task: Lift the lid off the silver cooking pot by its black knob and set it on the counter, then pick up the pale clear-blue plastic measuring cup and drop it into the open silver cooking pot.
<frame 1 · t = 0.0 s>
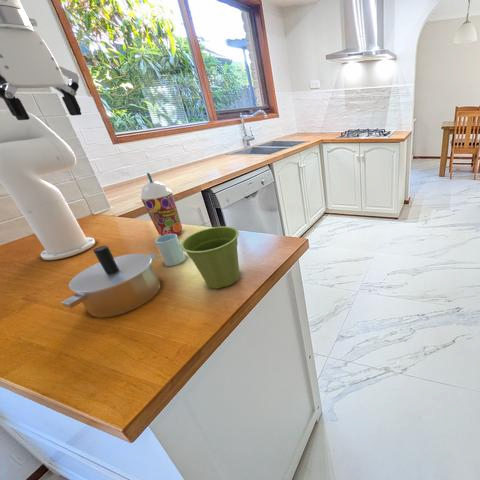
hand: (51, 117, 64), 37 cm above the table, tool pointing down, fingers open, 9 cm apart
smoothie: (172, 234, 94), on the table
measuring cup: (175, 261, 78), on the table
silver cooking pot: (126, 296, 65), on the table
tin lid: (113, 272, 62), point 6 cm above the table, touching silver cooking pot
plant pot: (224, 280, 68), on the table
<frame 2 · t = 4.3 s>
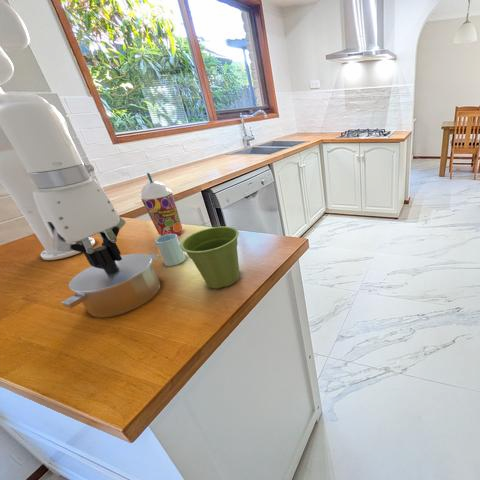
hand: (108, 262, 61), 9 cm above the table, tool pointing down, fingers closed on tin lid, 2 cm apart
tin lid: (113, 272, 62), point 7 cm above the table, touching gripper, silver cooking pot
everything else where it was.
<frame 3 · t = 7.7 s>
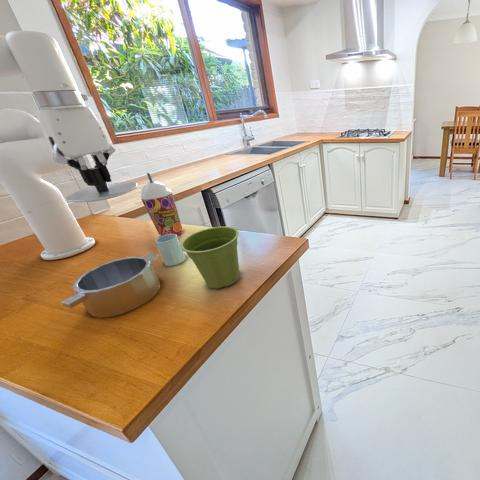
hand: (99, 182, 71), 21 cm above the table, tool pointing down, fingers closed on tin lid, 2 cm apart
tin lid: (104, 192, 73), point 19 cm above the table, touching gripper
everything else where it was.
when the fingers open (3 cm above the table, at t = 11.3 s): tin lid stays where it is, point 1 cm above the table.
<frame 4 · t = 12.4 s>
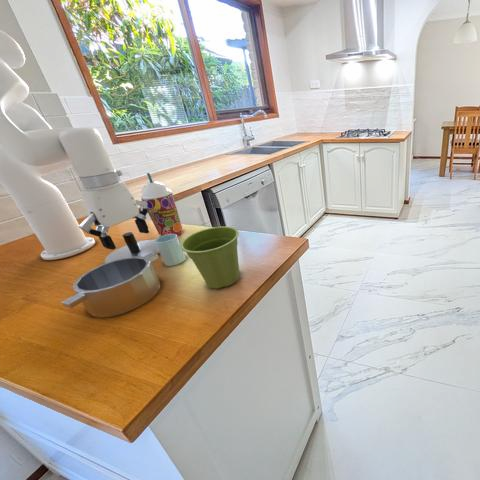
hand: (128, 240, 81), 5 cm above the table, tool pointing down, fingers open, 9 cm apart
tin lid: (136, 252, 82), point 1 cm above the table
everything else where it was.
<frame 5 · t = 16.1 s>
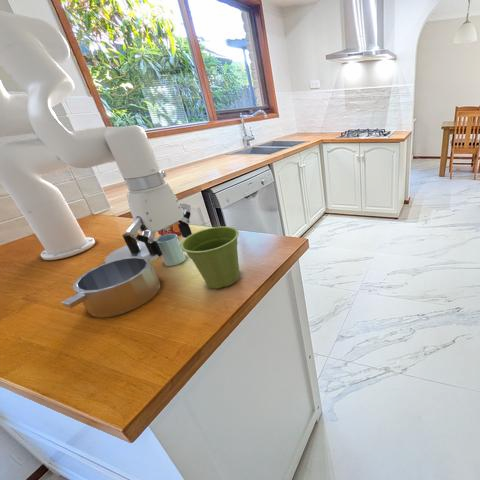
hand: (173, 245, 76), 5 cm above the table, tool pointing down, fingers open, 9 cm apart
nothing on the table moved.
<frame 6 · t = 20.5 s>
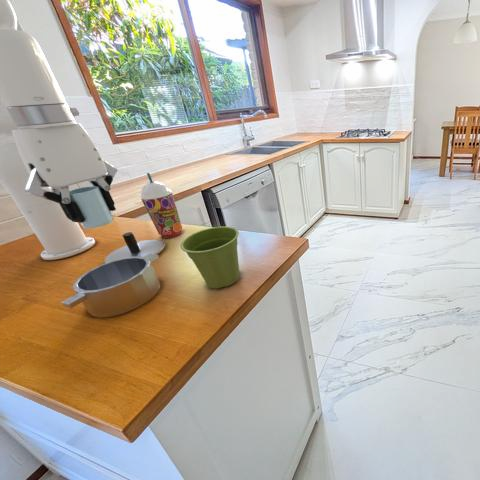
hand: (94, 214, 58), 19 cm above the table, tool pointing down, fingers closed on measuring cup, 5 cm apart
measuring cup: (99, 223, 59), point 17 cm above the table, touching gripper
everything else where it was.
when the fingers open (6 cm above the table, at t = 24.2 s): measuring cup drops 3 cm, resting on silver cooking pot.
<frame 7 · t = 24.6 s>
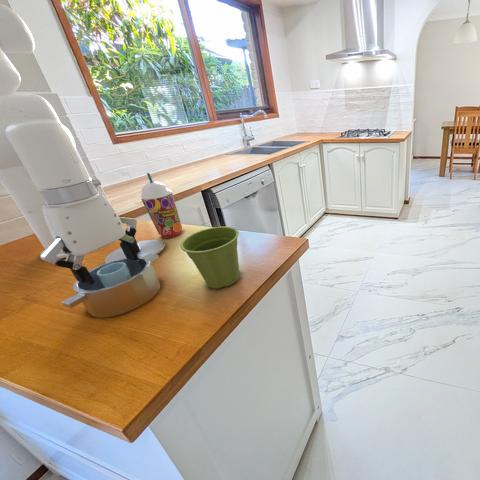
hand: (111, 270, 62), 7 cm above the table, tool pointing down, fingers open, 9 cm apart
measuring cup: (125, 294, 65), point 1 cm above the table, touching silver cooking pot
everything else where it was.
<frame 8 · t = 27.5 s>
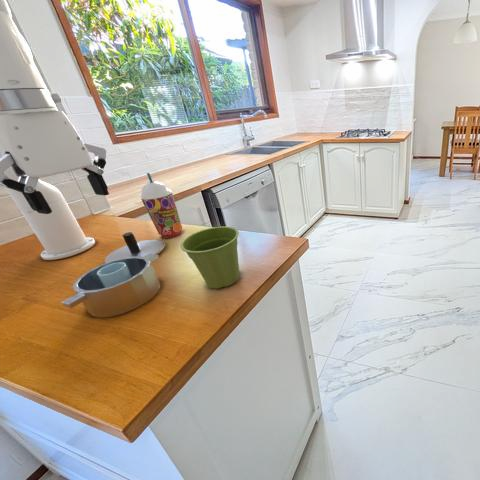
hand: (76, 203, 55), 22 cm above the table, tool pointing down, fingers open, 9 cm apart
nothing on the table moved.
at the end: tin lid inside the target area (0.3 cm from its centre), point 0.6 cm above the table; measuring cup inside the target area in the silver cooking pot (0.1 cm from its centre), point 0.5 cm above the silver cooking pot's base; the gripper is holding nothing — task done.
